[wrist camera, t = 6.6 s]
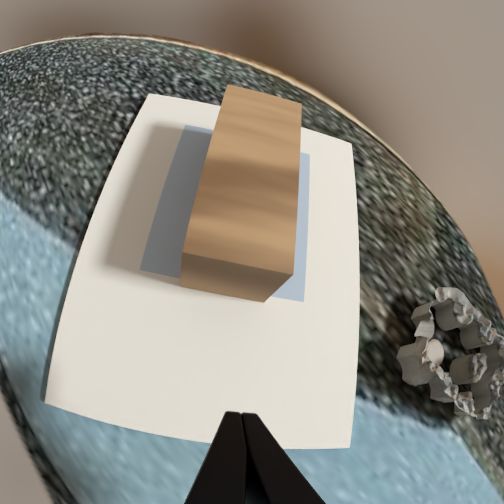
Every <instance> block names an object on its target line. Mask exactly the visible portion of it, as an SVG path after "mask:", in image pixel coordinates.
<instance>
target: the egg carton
mask: <svg viewBox="0 0 504 504" xmlns="http://www.w3.org/2000/svg"><path fill="white" fill-rule="evenodd" d="M435 294H436V298H437V299H436V300H434V301H432V302H430V303H427V304H424V305H422V306H419V307H417V308H416V309H415V310H414V312H413V314H412V316H411V320H412V321H413V323H414V324H415V326H416V332H415V335H414V336H415V337H416V341H415V343H413V344H409V345H405V346H401V347H400V349H399V352H398V354H397V357H396V358H397V360H398V361H399V363H400V364H401V367H402V379H403V380H404V381H405V382H406V383H408V384H410V385H414V386H417V385H420V384H426V383H429V385H430V389H431V395H430V398H431V399H434V400H437V401H441V402H444V403H447V402H453V401H454V413H455V414H456V415H457V416H463V415H472V416H474V417H476V419H487V420H488V419H489V418H490V417H491V414H492V413H491V412H490V408H491V406H492V404H493V403H494V401H496V400H497V399H498V398H499V389H500V387H501V386H502V384H503V380H504V338H503V337H502V336H500V335H498V334H497V331H496V329H495V328H491V321H489V320H488V319H486V318H485V317H484V316H482V315H481V313H480V312H479V311H478V310H477V309H476V308H474V307H473V306H472V305H471V304H470V302H469V301H468V299H467V298H466V296H465V295H464V293H463V292H462V291H460V290H459V289H457V288H445V287H438V288H437V289H436V291H435ZM430 306H432V307H434V308H435V310H436V313H435V316H436V321H437V324H438V326H439V327H440V328H441V329H442V330H445V331H448V330H451V329H454V328H459V329H460V341H461V344H462V345H463V347H464V348H465V349H468V350H469V349H473V348H477V347H480V353H475V354H470V355H466V356H462V357H458V358H456V359H454V360H453V361H452V363H451V365H450V371H449V372H443V369H442V368H441V367H440V366H439V365H440V364H441V363H442V361H443V357H444V350H443V347H442V345H441V343H440V342H439V341H438V340H436V339H432V340H430V339H431V337H432V336H433V334H434V322H433V319H434V318H433V315H432V312H431V311H430ZM429 340H430V341H429ZM449 373H450V376H448V375H449ZM452 382H453V383H454V384H456V385H454V384H452ZM468 383H471V392H470V391H468V392H462V393H458V385H461V384H468ZM472 396H473V397H474V400H473V399H472Z"/></svg>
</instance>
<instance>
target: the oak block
mask: <svg viewBox="0 0 504 504" xmlns="http://www.w3.org/2000/svg"><path fill="white" fill-rule="evenodd" d="M301 107H302V104H300V103H297V102H293V101H290V100H287V99H283V98H280V97H276V96H272V95H269V94H265V93H261V92H257V91H253V90H249V89H245V88H241V87H237V86H232V85H227V88H226V91H225V95H224V98H223V101H222V104H221V108H220V111H219V114H218V117H217V121H216V124H215V128H214V131H213V134H212V138H211V141H210V145H209V148H208V152H207V156H206V159H205V163H204V166H203V170H202V174H201V178H200V181H199V185H198V189H197V193H196V197H195V201H194V205H193V209H192V213H191V217H190V221H189V225H188V229H187V233H186V238H185V242H184V246H183V251H182V260H181V272H180V285H179V286H180V287H185V288H190V289H195V290H200V291H205V292H210V293H215V294H220V295H225V296H230V297H236V298H241V299H246V300H252V301H257V302H263V303H264V302H265V301H266V300H267V299H268V298H269V297H270V296H271V295H273V294H274V293H275V292H276V291H277V290H278V289H279V288H280V287H281V286H282V285H283V284H284V283H285V282H286V281H287V280H288V279H289V278H290V277H291V276H292V275H293V272H294V258H295V243H296V227H297V210H298V191H299V169H300V143H301Z"/></svg>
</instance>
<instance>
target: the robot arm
mask: <svg viewBox="0 0 504 504" xmlns="http://www.w3.org/2000/svg"><path fill="white" fill-rule="evenodd" d="M184 504H326V503H325V502H324V501H323V500H322V498H321V497H320V496H319V495H318V494H317V492H316V491H315V490H314V489H313V487H312V486H311V485H310V484H309V482H308V481H307V480H306V479H305V477H304V476H303V475H302V474H301V472H300V471H299V470H298V468H297V467H296V466H295V465H294V463H293V462H292V461H291V459H290V458H289V457H288V455H287V454H286V453H285V451H284V450H283V449H282V447H281V446H280V445H279V443H278V442H277V441H276V439H275V438H274V437H273V435H272V434H271V432H270V431H269V430H268V428H267V427H266V425H265V424H264V423H263V421H262V420H261V418H260V417H259V416H258V415H257V414H256V413H247V412H243V413H240V412H235V411H226V412H225V413H224V416H223V418H222V420H221V423H220V425H219V427H218V429H217V432H216V434H215V436H214V439H213V441H212V443H211V445H210V448H209V450H208V452H207V454H206V457H205V459H204V461H203V463H202V466H201V468H200V470H199V472H198V474H197V477H196V479H195V481H194V483H193V485H192V488H191V490H190V492H189V494H188V496H187V498H186V500H185V503H184Z"/></svg>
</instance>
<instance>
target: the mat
mask: <svg viewBox="0 0 504 504" xmlns="http://www.w3.org/2000/svg"><path fill="white" fill-rule="evenodd" d="M220 108H221V106H216V105H212V104H207V103H202V102H197V101H191V100H186V99H180V98H174V97H168V96H162V95H156V94H149V95H148V97H147V98H146V100H145V102H144V104H143V106H142V108H141V110H140V111H139V113H138V115H137V117H136V119H135V121H134V123H133V125H132V127H131V129H130V131H129V133H128V135H127V137H126V139H125V141H124V143H123V145H122V147H121V149H120V151H119V154H118V156H117V158H116V160H115V162H114V165H113V167H112V169H111V171H110V174H109V176H108V178H107V181H106V183H105V185H104V188H103V190H102V193H101V195H100V197H99V200H98V202H97V205H96V208H95V210H94V213H93V215H92V218H91V221H90V223H89V226H88V229H87V232H86V235H85V237H84V240H83V243H82V246H81V249H80V252H79V255H78V258H77V261H76V265H75V268H74V271H73V274H72V278H71V281H70V285H69V288H68V292H67V295H66V299H65V303H64V306H63V310H62V314H61V318H60V323H59V327H58V331H57V336H56V340H55V345H54V350H53V355H52V360H51V365H50V371H49V377H48V383H47V389H46V396H45V403H47V404H49V405H52V406H55V407H58V408H61V409H64V410H66V411H69V412H73V413H76V414H79V415H82V416H85V417H88V418H92V419H95V420H99V421H102V422H106V423H110V424H113V425H117V426H121V427H125V428H130V429H134V430H138V431H143V432H147V433H152V434H157V435H162V436H168V437H173V438H179V439H185V440H192V441H199V442H206V443H212V441H213V439H214V436H215V434H216V432H217V429H218V427H219V425H220V423H221V420H222V418H223V416H224V413H225V412H226V411H235V412H240V413H243V412H247V413H256V414H257V415H258V416H259V417H260V418H261V420H262V421H263V423H264V424H265V425H266V427H267V428H268V430H269V431H270V432H271V434H272V435H273V437H274V438H275V439H276V441H277V442H278V443H279V445H280V446H281V447H282V449H334V448H350V441H351V433H352V424H353V414H354V403H355V391H356V378H357V362H358V341H359V238H358V216H357V200H356V186H355V174H354V163H353V153H352V144H351V143H348V142H346V141H343V140H340V139H337V138H334V137H331V136H328V135H325V134H322V133H318V132H315V131H312V130H309V129H306V128H302V127H301V143H300V169H299V191H298V210H297V227H296V243H295V258H294V272H293V275H292V276H291V277H290V278H289V279H288V280H287V281H286V282H285V283H284V284H283V285H282V286H281V287H280V288H279V289H278V290H277V291H276V292H275V293H274V294H273V295H271V296H270V297H269V298H268V299H267V300H266V301H265V302H264V303H263V302H257V301H252V300H246V299H241V298H236V297H230V296H225V295H220V294H215V293H210V292H205V291H200V290H195V289H190V288H185V287H180V286H179V285H180V272H181V260H182V251H183V246H184V242H185V238H186V233H187V229H188V225H189V221H190V217H191V213H192V209H193V205H194V201H195V197H196V193H197V189H198V185H199V181H200V178H201V174H202V170H203V166H204V163H205V159H206V156H207V152H208V148H209V145H210V141H211V138H212V134H213V131H214V128H215V124H216V121H217V117H218V114H219V111H220Z"/></svg>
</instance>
